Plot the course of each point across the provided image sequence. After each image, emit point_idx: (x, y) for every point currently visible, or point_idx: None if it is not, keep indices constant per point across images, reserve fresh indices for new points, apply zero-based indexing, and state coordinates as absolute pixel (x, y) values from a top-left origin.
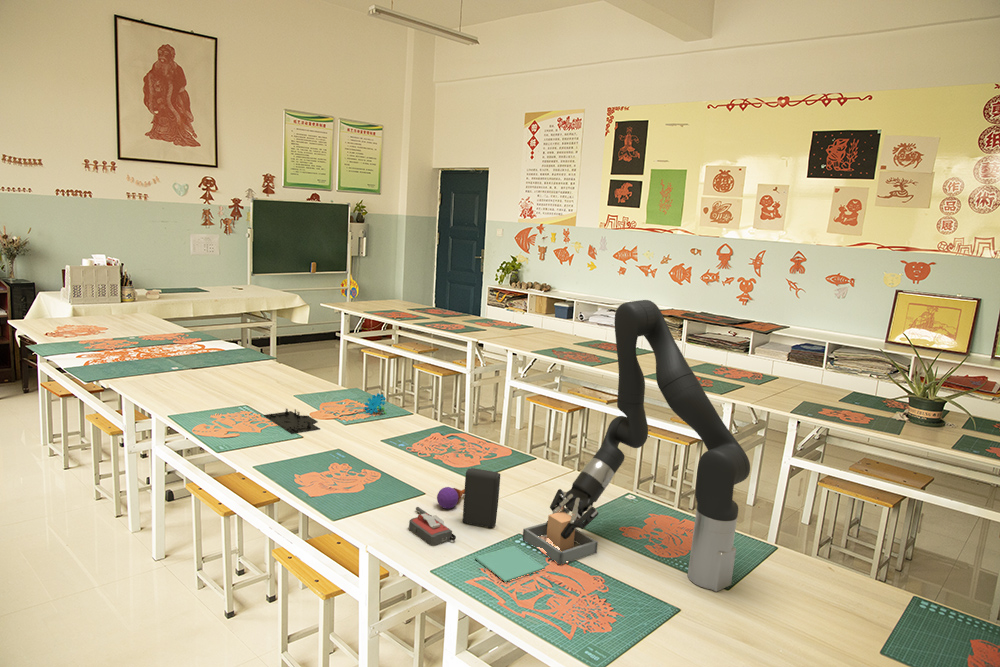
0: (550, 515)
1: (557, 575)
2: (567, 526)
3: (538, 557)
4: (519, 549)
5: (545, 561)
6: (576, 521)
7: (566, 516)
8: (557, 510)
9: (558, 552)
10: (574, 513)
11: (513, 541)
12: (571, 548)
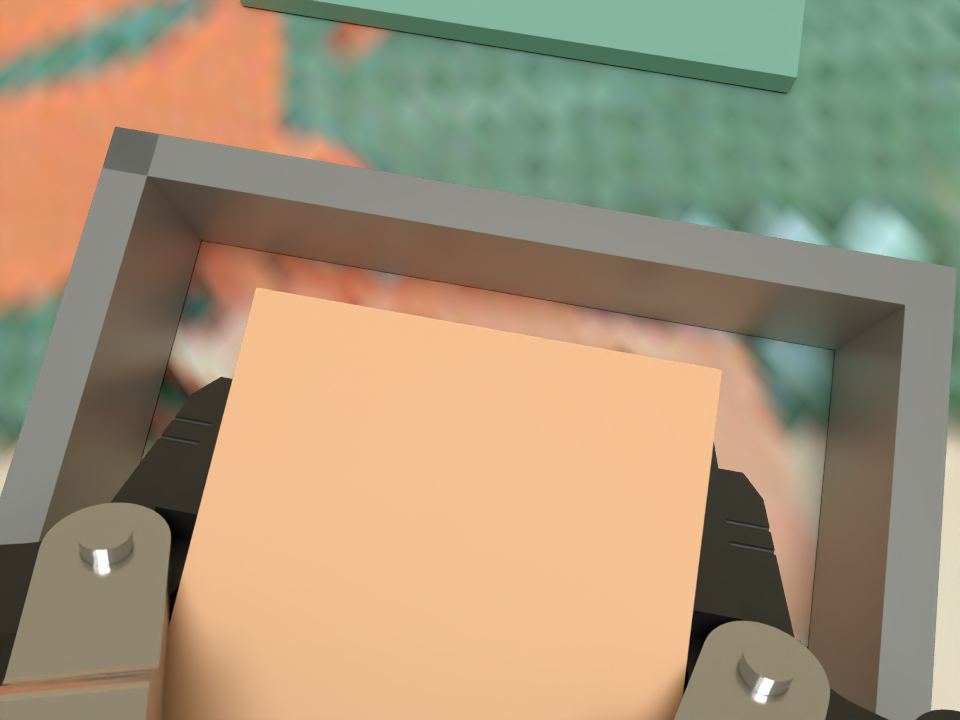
0: (677, 390)
1: (80, 22)
2: (206, 451)
3: (454, 146)
4: (686, 57)
5: (343, 140)
6: (3, 607)
7: (381, 678)
8: (716, 704)
9: (173, 140)
10: (40, 682)
11: (906, 201)
12: (88, 354)
